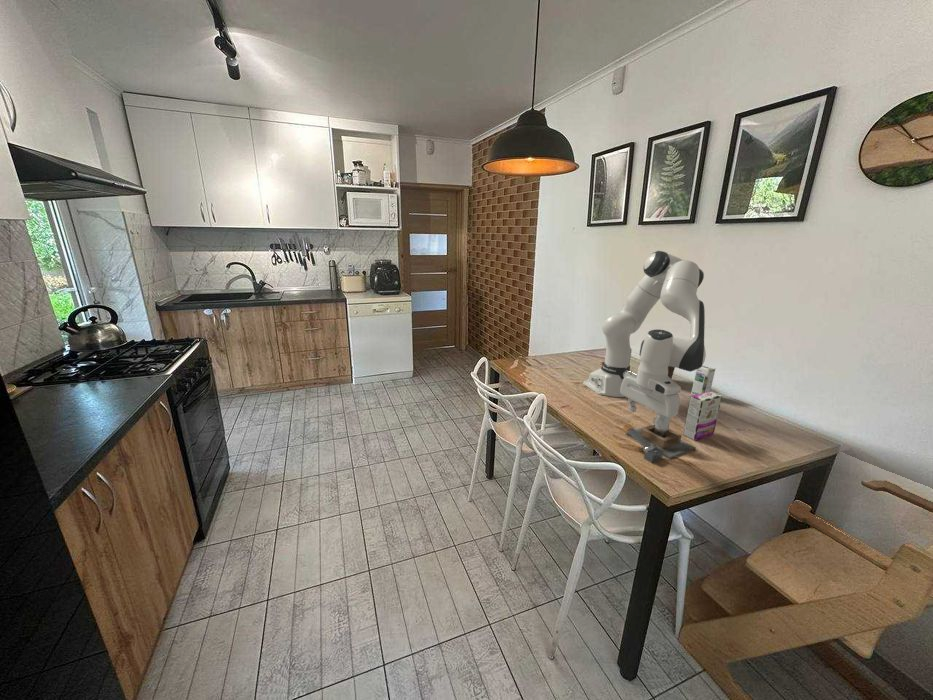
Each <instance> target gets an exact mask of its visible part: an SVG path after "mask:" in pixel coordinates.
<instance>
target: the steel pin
mask: <svg viewBox="0 0 933 700" xmlns="http://www.w3.org/2000/svg"><path fill="white" fill-rule="evenodd" d="M656 417H658V415H657V414H656ZM671 419H672V417H670V418H667V417H665V416H664V417H663V418H662V419H661V420H660V424H658V425H656V424H654V425H655V429H654V433H655V434H657V435H659V436H660V437H662V438H665V437H667V435H668V429H670V424H671Z"/></svg>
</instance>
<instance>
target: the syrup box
mask: <svg viewBox="0 0 933 700" xmlns="http://www.w3.org/2000/svg"><path fill="white" fill-rule="evenodd" d="M715 373H716V367H712V366H709V365H706V364H703V365H702V367H701V368H699V369H697V370H695V375H694V379H693V384H692V388H691V392H690V394H691V396H693V395H697V394H701V393H705V392H709V391H710V392H711V390H712V387H713V386H712V385H713V381H714V378H715Z"/></svg>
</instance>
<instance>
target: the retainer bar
mask: <svg viewBox="0 0 933 700" xmlns="http://www.w3.org/2000/svg"><path fill="white" fill-rule="evenodd" d="M622 428H623V429H624V431H626V432H628V433H630V434H631V435H632V436H633V437H634V438H635V439H636V440H635V439H634V440H635V441H637V443H639V444H640V445H641V446H642V447H643V449H644V448H646V447H649V446H650V445H651V444H650V443H649V442H648V441H646V440H645V439H644V438H643V437H642V436H641V435H640V434H639V433H638V432H637V431H636V429H635V428H634V427H633V426H632V424H630V423H627V424H624V425H623V426H622Z"/></svg>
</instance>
